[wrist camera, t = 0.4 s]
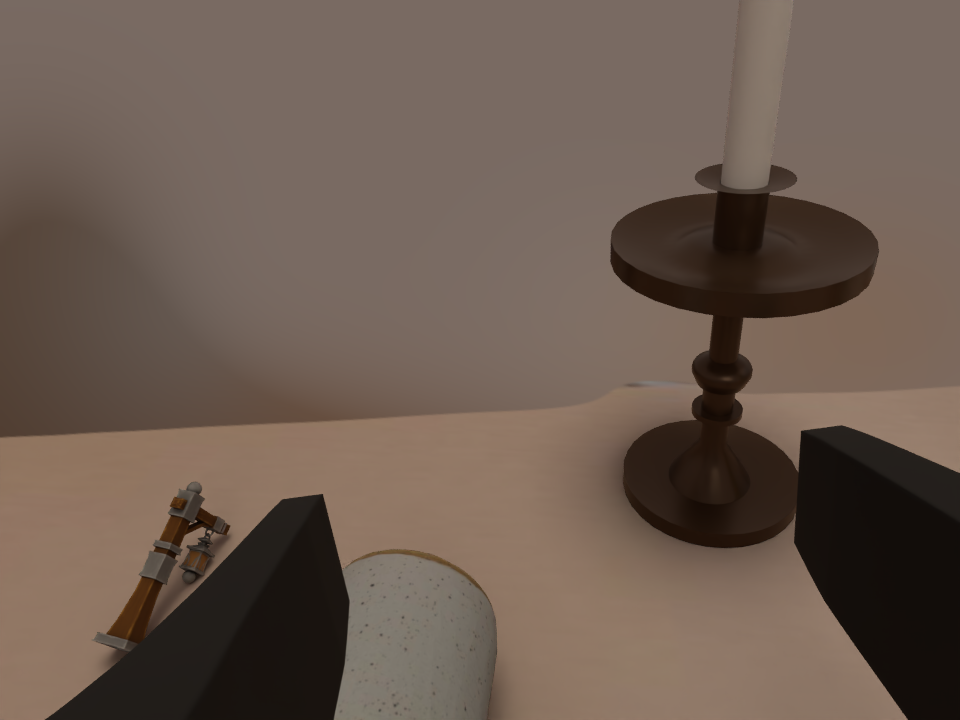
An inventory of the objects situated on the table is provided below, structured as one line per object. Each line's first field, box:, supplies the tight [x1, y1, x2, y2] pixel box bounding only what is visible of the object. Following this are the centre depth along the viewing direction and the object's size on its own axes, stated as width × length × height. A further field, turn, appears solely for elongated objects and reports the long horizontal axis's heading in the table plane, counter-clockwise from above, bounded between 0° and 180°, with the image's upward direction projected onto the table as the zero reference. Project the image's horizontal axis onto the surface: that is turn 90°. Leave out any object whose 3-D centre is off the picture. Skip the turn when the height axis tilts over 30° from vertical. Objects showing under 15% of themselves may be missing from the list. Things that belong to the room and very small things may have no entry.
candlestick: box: [610, 0, 879, 548], centre depth 29 cm, size 11×11×35 cm
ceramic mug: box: [334, 550, 497, 720], centre depth 26 cm, size 11×8×8 cm
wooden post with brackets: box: [92, 482, 230, 652], centre depth 34 cm, size 2×8×4 cm, turn 162°
